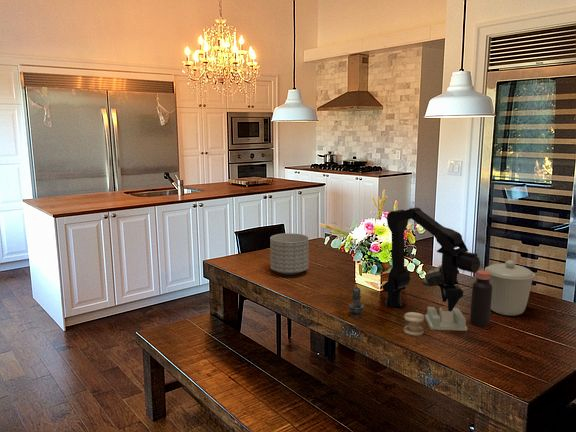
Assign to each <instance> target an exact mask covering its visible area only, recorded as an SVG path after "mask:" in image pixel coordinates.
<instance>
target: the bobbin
mask: <svg viewBox="0 0 576 432" xmlns="http://www.w3.org/2000/svg"><path fill="white" fill-rule="evenodd" d="M403 318H404V320H405V321H407V325H405V326H404V327H403V332H404V333H405V334H406V335H408V336H411V337H419V336H423V335H424V332H425V331H424V327H421V323H423V322H425V314H422V313H419V312H414V311H409V312H405V313H404V316H403Z"/></svg>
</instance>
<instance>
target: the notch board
mask: <svg viewBox="0 0 576 432" xmlns="http://www.w3.org/2000/svg"><path fill="white" fill-rule="evenodd" d="M452 311H453V322H452V323H441V321H440V317H439V313H438V312H437V309H436V308H435V306H427V311H426V312H427V314H424V319H425V321H426V323H427V324H428V325H427V326H428V327H429V329H430V330H438V331H442V330H443V331H461V332H463V331H465V332H467V331H468V326H467V325H466V318H465V316H464V315H463V313H462V312H461V310H460V308H459V307H454V308H453V310H452Z"/></svg>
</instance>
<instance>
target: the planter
mask: <svg viewBox="0 0 576 432" xmlns="http://www.w3.org/2000/svg"><path fill="white" fill-rule="evenodd" d="M269 239H270V240H269V241H270V242H269V243H270V244H269V246H270V247H269V248H270V249H269V252H270V253H269V254H270V257H269V261H270V265H269V266H270V269H271V270H273V271H275V272H277V273H279V274H281V275H283V276H284V275H285V276H294V275H295V276H296V275H299V274H300V273H302V272H304V271H306V270H308V269H309V237H308V235H305V234H302V233H294V232H293V233H291V232H289V233H288V232H287V233H285V232H283V233H277V234H274V235H271V236H270V237H269Z"/></svg>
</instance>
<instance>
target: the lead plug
mask: <svg viewBox="0 0 576 432" xmlns="http://www.w3.org/2000/svg"><path fill="white" fill-rule="evenodd" d="M438 315H439V317H440V321H441V323H452V322H453V311H448V305H442V306H441V307H440V306H439V313H438Z"/></svg>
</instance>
